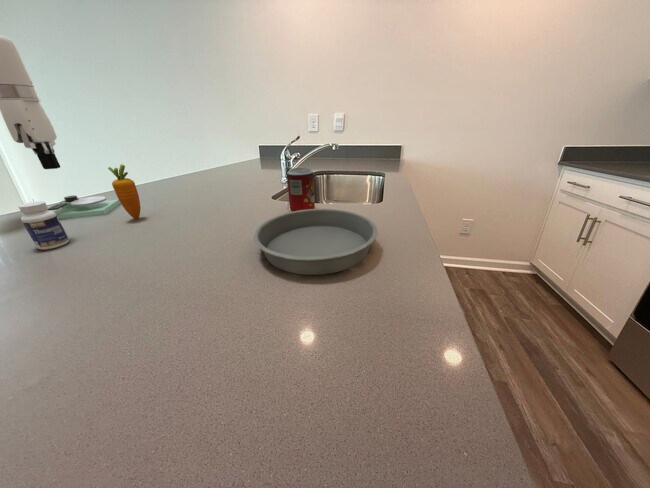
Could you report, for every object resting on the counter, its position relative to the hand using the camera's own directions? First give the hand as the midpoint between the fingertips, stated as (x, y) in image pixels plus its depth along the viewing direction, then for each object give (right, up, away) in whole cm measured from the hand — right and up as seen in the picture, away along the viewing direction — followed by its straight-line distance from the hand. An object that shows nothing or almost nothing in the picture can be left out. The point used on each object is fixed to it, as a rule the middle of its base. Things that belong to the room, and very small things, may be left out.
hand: (52, 168), depth 74 cm
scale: (+4, -11, +7) cm, 14 cm away
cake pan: (+76, -23, -20) cm, 82 cm away
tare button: (-2, -8, +8) cm, 11 cm away
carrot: (+25, -15, -1) cm, 30 cm away
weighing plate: (+6, -9, +5) cm, 12 cm away
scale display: (+1, -11, +1) cm, 11 cm away
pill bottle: (+16, -22, -15) cm, 31 cm away
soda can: (+72, -13, 0) cm, 73 cm away
